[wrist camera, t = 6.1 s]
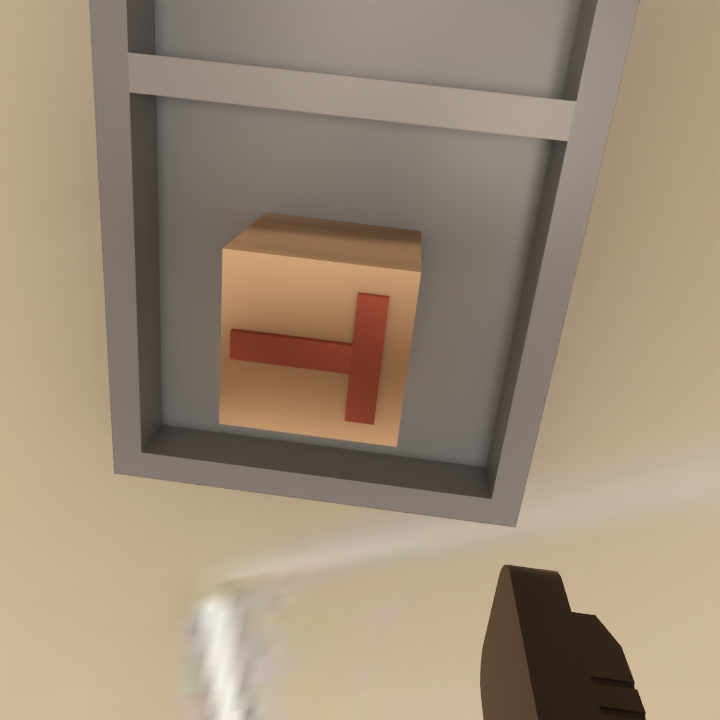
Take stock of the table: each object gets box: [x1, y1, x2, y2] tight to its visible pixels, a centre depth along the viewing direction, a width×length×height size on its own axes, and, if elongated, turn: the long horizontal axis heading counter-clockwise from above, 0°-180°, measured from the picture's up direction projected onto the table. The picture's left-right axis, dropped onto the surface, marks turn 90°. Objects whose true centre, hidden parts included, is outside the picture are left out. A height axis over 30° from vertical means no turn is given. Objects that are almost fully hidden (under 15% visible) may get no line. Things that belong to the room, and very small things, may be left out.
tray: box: [89, 0, 639, 527], centre depth 19 cm, size 26×14×3 cm, turn 174°
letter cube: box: [219, 213, 421, 447], centre depth 20 cm, size 5×5×5 cm
